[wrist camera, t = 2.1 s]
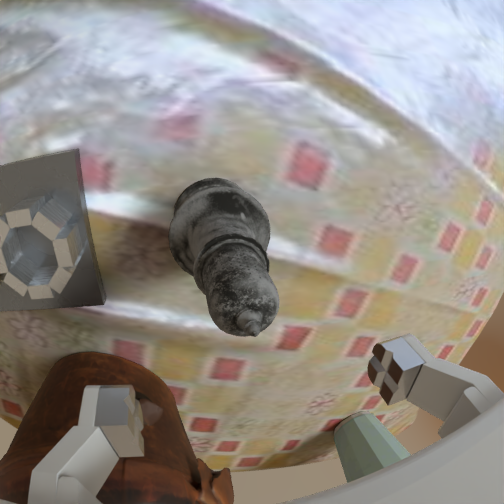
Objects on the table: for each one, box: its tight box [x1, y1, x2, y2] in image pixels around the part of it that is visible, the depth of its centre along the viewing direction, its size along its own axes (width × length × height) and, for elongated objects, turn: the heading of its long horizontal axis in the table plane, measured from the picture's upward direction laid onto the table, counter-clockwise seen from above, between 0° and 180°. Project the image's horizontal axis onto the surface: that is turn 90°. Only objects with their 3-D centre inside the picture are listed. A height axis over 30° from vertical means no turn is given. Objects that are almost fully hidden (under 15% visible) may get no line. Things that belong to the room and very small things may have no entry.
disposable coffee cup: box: [334, 411, 411, 483], centre depth 33 cm, size 11×11×15 cm
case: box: [0, 352, 234, 504], centre depth 19 cm, size 18×20×18 cm
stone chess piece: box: [169, 178, 279, 337], centre depth 16 cm, size 6×6×12 cm
